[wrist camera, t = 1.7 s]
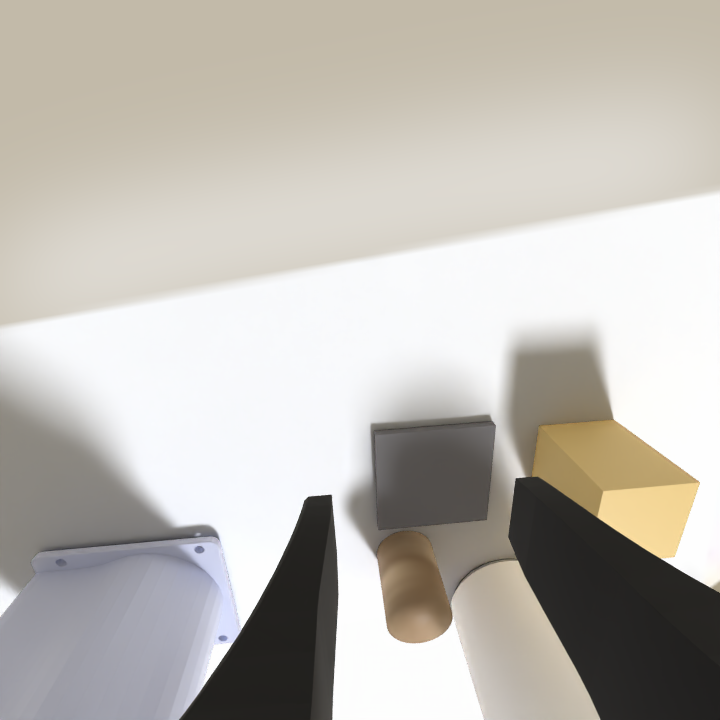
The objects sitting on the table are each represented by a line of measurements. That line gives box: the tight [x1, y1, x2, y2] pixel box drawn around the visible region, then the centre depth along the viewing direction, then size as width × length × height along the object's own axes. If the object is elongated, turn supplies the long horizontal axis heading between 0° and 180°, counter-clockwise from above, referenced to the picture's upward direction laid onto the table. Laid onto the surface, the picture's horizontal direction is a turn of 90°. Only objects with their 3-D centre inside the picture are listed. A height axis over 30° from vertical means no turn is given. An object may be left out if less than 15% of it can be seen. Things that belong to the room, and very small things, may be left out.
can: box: [451, 559, 600, 720], centre depth 18 cm, size 6×6×12 cm
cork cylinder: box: [377, 531, 452, 643], centre depth 20 cm, size 3×3×4 cm
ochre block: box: [532, 420, 700, 558], centre depth 18 cm, size 4×4×5 cm
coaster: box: [374, 421, 496, 530], centre depth 20 cm, size 6×6×1 cm
